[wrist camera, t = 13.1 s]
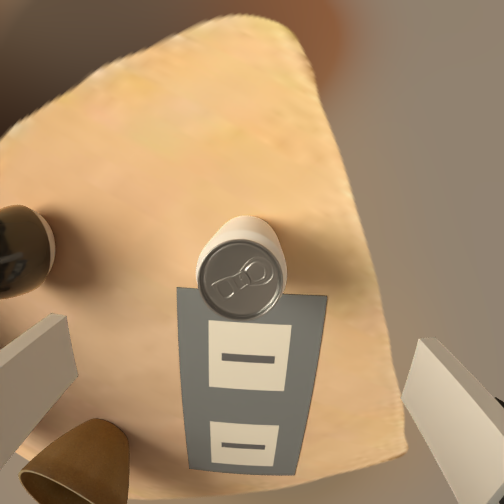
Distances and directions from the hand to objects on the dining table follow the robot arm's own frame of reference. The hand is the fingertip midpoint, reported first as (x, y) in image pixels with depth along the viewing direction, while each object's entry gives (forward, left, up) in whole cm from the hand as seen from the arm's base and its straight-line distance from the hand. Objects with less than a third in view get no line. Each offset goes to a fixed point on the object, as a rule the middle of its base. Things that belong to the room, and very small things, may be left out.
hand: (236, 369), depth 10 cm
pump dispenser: (-27, -1, -23) cm, 35 cm away
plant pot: (-21, -31, -23) cm, 44 cm away
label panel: (0, -20, -22) cm, 30 cm away
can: (-1, 0, -23) cm, 23 cm away
